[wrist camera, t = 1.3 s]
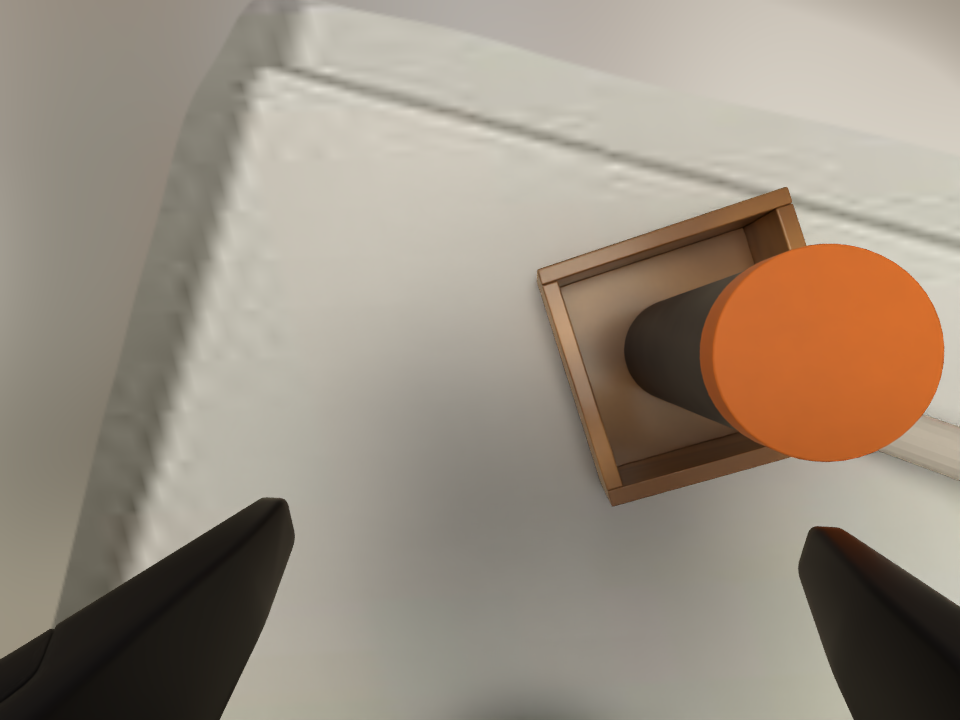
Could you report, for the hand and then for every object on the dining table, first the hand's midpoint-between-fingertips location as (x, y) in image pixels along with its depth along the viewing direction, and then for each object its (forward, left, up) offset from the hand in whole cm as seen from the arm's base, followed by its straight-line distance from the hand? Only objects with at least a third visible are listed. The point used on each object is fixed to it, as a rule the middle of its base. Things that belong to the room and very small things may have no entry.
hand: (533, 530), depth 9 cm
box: (+1, -7, -16) cm, 18 cm away
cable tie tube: (+1, -7, -16) cm, 18 cm away
